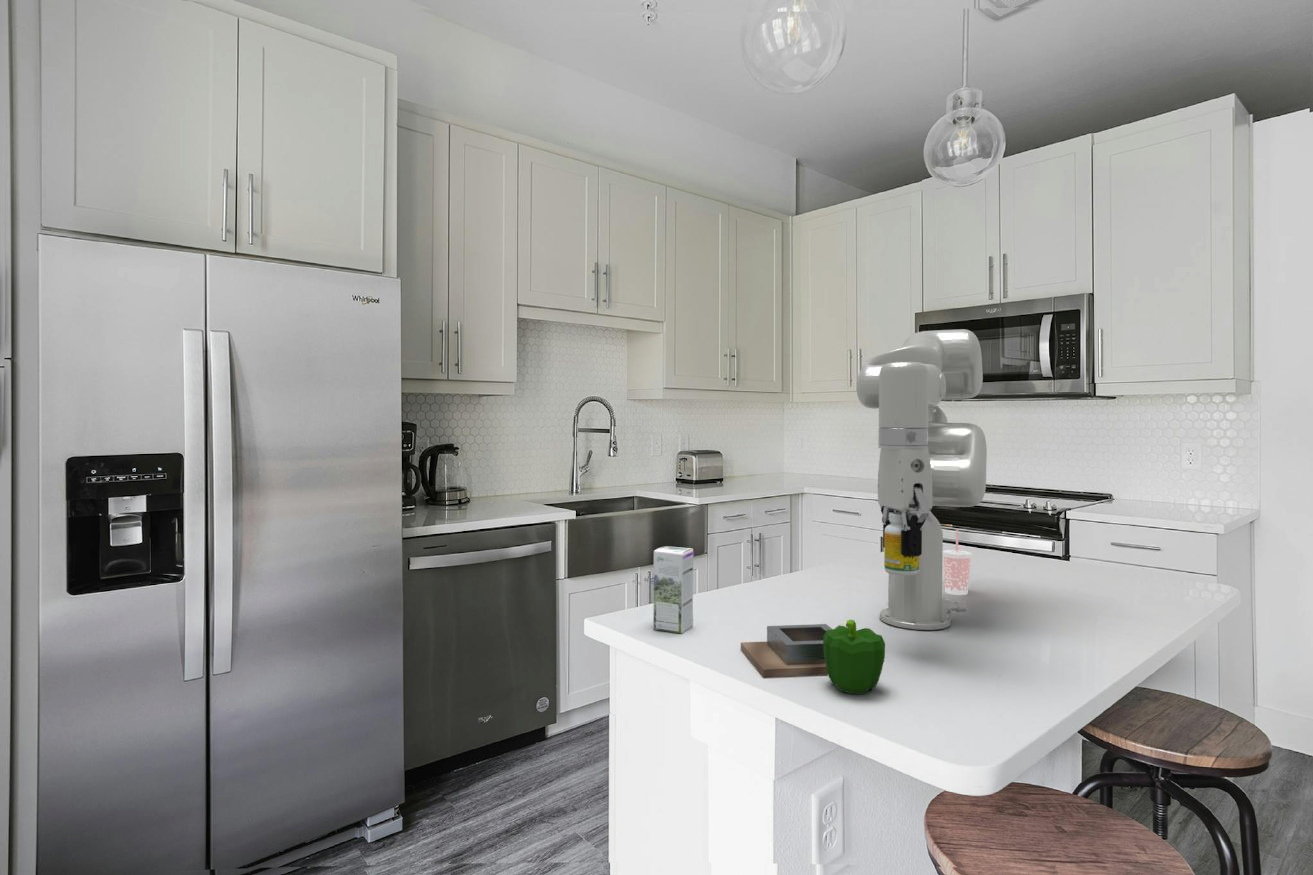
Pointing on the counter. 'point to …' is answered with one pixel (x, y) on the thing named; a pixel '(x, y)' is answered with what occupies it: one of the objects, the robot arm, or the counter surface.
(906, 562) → the supplement bottle
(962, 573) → the beverage cup
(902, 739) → the counter surface
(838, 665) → the bell pepper
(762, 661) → the docking plate
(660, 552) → the syrup box
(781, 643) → the socket collar
